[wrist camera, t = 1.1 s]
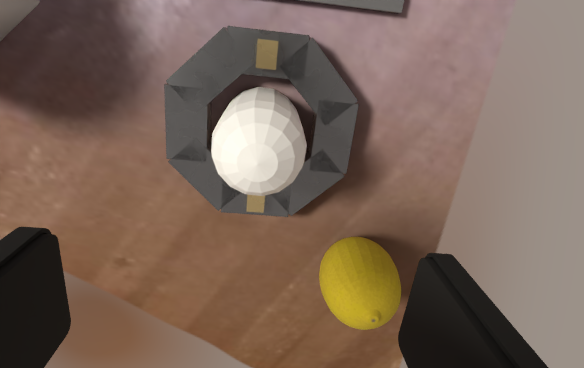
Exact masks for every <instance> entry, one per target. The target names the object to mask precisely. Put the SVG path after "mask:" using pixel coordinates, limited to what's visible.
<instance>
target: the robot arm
mask: <svg viewBox="0 0 584 368" xmlns="http://www.w3.org/2000/svg"><path fill="white" fill-rule="evenodd" d="M70 324H71V318H70V312H69V305H68V299H67V294H66V287H65V280H64V274H63V268H62V262H61V255H60V249H59V243H58V238H57V237H56V236H55V235H52V234H51V232H50V231H49V230H48V229H46V228H33V227H19V228H17V229H15V230H14V231H12V232H11V233H10V234H8V235H7V236H5V237H4V238H3V239H1V240H0V368H44V367H45V365H46V364H47V362H48V361H49V360H50V358H51V357H52V355H53V354H54V353H55V351H56V350H57V348H58V347H59V345H60V344H61V343H62V341H63V340H64V338H65V337H66V335H67V334H68V331H69V329H70ZM398 341H399V347H400V350H401V352H402V354H403V357H404V359H405V362H406V364H407V366H408V368H548V367H547V366H546V364H545V363H544V362H543V361H542V360H541V359H540V357H539V356H538V355H537V354H536V353H535V351H534V350H533V349H532V348H531V347H530V346H529V344H528V343H527V342H526V341H525V340H524V339H523V337H522V336H521V335H520V334H519V333H518V332H517V330H516V329H515V328H514V327H513V326H512V324H511V323H510V322H509V321H508V320H507V319H506V317H505V316H504V315H503V314H502V313H501V312H500V310H499V309H498V308H497V307H496V306H495V304H494V303H493V302H492V301H491V300H490V299H489V297H488V296H487V295H486V294H485V293H484V291H483V290H482V289H481V288H480V287H479V286H478V284H477V283H476V282H475V281H474V280H473V278H472V277H471V276H470V275H469V274H468V273H467V271H466V270H465V269H464V268H463V267H462V266H461V264H460V263H459V262H458V261H457V260H456V259H455V257H454V256H452V255H451V254H439V253H429V254H427V256H426V257H425V258H421V260H420V261H419V264H418V268H417V271H416V275H415V278H414V282H413V285H412V289H411V292H410V296H409V299H408V303H407V306H406V310H405V313H404V317H403V320H402V324H401V327H400V331H399V335H398Z"/></svg>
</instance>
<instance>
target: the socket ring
mask: <svg viewBox="0 0 584 368" xmlns="http://www.w3.org/2000/svg"><path fill="white" fill-rule="evenodd" d="M241 74H246V75H256V76H265V77H274V78H284V79H289V80H290V81H291V83H292V84H293V85H294V86H295V88H296V89H297V90H298V92H299V93H300V94H301V95H302V97H303V98H304V99H305V100H306V102H307V103H308V104H309V106H310V107H311V108H312V109H313V111H314V115H313V123H312V131H311V138H310V146H309V151H307V152H306V154H305V160H304V164H303V167H302V169H301V170H300V172H299V173H298V175H297V177H296V178H295V180H294V181H293V182H292V183H291V184H290V185H288V186H287V187H285V188H284V189H283V190H281V191H280V192H277V193H273V194H269V195H265V196H256V195H248V194H244V193H242V192H240V191H238V190H236V189H234V188H232V187H230V186H229V185H228V184H227V183H226V182H225V181H224V180H223V179H222V177H221V176H220V175H219V174H218V172H217V170H216V167H215V164H214V161H213V159H212V154H211V146H212V143H211V142H210V139H211V101H212V100H213V99H214V98H215V97H216V96H217V95H218V94H220V93H221V92H222V91H223V90H224V89H225V88H226V87H228V86H229V85H230V84H231V83H232V82H233V81H234V80H235V79H237V78H238V77H239V76H240V75H241ZM166 82H167V84H164V88H165V121H166V154H167V159H170V160H169V161H168V162H169V163H170V164H171V165H172V166H173V167H174V168H175V169H176V170H177V171H178V172H179V173H180V174H181V175H182V176H183V177H184V178H185V179H186V180H187V181H188V182H189V183H190V184H191V185H192V186H193V187H194V188H195V189H196V190H197V191H198V192H199V193H201V194H202V195H203V196H204V197H205V198H206V199H207V200H208V201H209V202H210V203H211V204H212V205H213V206H214V207H215V208H216V209H217V210H220V209H221V212H227V213H241V214H255V215H269V216H284V217H288V213H289V214H290V215H291V216H292V215H293V214H294V213H296V212H297V211H298V210H300V209H301V208H303V207H304V206H305V205H307V204H308V203H309V202H311V201H312V200H313V199H315V198H316V197H317V196H319V195H320V194H321V193H323V192H324V191H325V190H327V189H328V188H330V187H331V186H332V185H334V184H335V183H336V182H338V181H339V180H340V179H342V178H343V177H344V174H343V173H345V174H346V173H347V167H348V162H349V156H350V150H351V145H352V139H353V134H354V128H355V122H356V117H357V111H358V106H359V104H358V103H356V102H357V101H358V100H357V99H356V97H355V96H354V95H353V93H352V92H351V90H350V89H349V88H348V86H347V85H346V83H345V82H344V81H343V79H342V78H341V76H340V75H339V74H338V72H337V71H336V69H335V68H334V67H333V65H332V64H331V63H330V61H329V60H328V58H327V57H326V56H325V54H324V53H323V51H322V50H321V49H320V47H319V46H318V44H317V43H316V42H315V40H314V39H313V38H309V35H300V34H292V33H283V32H275V31H266V30H258V29H250V28H241V27H233V26H228V28H226V27H223V28H222V29H221V30H220V31H219V32H218V33H217V34H216V35H215V36H214V37H213V38H212V39H211V40H209V41H208V42H207V43H206V44H205V45H204V46H203V47H202V48H201V49H200V50H199V51H198V52H197V53H195V54H194V55H193V56H192V57H191V58H190V59H189V60H188V61H187V62H186V63H185V64H184V65H183V66H181V67H180V68H179V69H178V70H177V71H176V72H175V73H174V74H173V75H172V76H171V77H170V78H169V79H167V80H166Z"/></svg>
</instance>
